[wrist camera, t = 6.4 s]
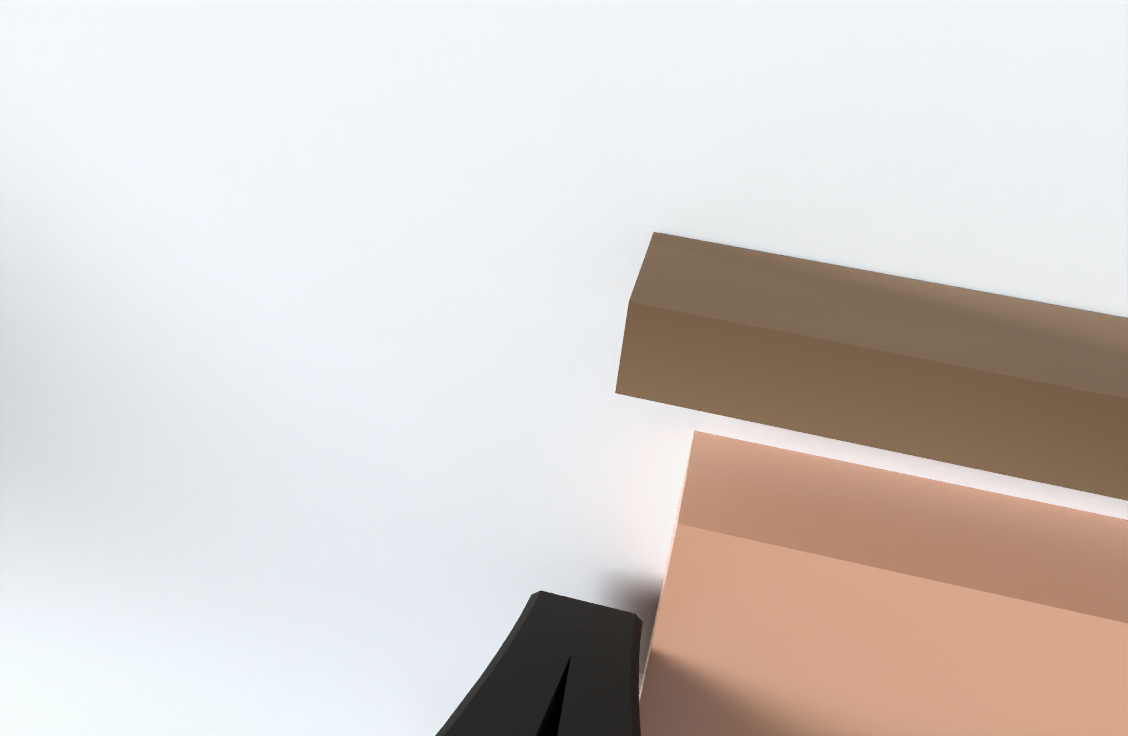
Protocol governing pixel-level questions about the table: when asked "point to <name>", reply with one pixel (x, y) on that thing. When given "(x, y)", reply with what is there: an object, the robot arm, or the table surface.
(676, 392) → the wooden u-shaped frame
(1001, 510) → the peach block
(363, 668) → the table surface
